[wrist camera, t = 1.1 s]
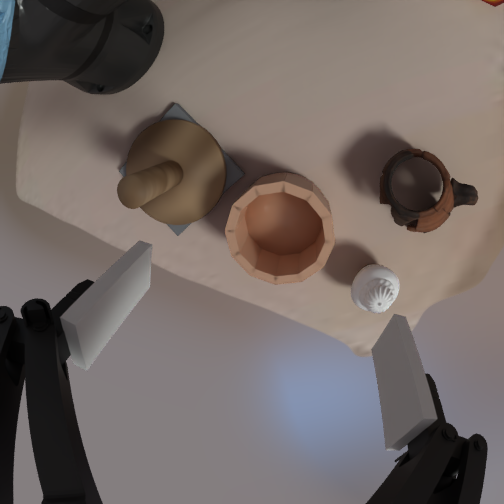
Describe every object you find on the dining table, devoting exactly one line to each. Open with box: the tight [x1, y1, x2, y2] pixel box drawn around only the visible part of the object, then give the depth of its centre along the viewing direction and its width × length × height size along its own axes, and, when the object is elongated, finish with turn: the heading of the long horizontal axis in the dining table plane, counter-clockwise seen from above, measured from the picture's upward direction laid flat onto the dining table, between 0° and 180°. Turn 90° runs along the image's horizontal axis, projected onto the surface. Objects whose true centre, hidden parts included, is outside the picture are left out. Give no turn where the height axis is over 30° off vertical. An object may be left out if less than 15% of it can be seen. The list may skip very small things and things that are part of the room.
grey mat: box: [119, 103, 245, 236], centre depth 35 cm, size 12×12×1 cm
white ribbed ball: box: [351, 264, 399, 313], centre depth 33 cm, size 6×6×7 cm
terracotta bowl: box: [225, 172, 335, 285], centre depth 33 cm, size 11×11×6 cm
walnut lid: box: [117, 119, 227, 225], centre depth 30 cm, size 13×13×10 cm
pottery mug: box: [380, 149, 478, 233], centre depth 28 cm, size 12×9×8 cm
